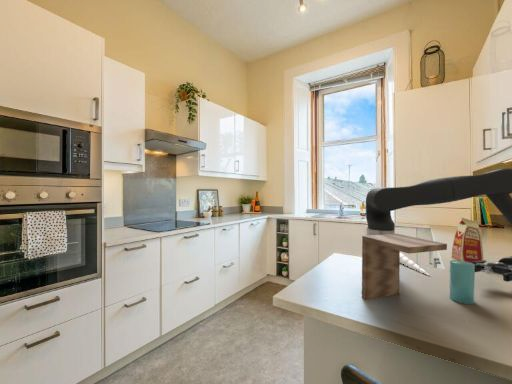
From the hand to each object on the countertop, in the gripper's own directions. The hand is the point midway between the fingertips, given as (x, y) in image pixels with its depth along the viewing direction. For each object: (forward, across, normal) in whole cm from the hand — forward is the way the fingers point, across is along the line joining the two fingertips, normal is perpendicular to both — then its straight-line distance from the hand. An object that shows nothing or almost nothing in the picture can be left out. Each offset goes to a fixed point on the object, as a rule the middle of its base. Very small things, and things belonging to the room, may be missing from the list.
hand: (487, 273), depth 77 cm
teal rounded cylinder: (+12, 0, +7) cm, 13 cm away
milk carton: (-34, -26, +7) cm, 44 cm away
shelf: (+32, -3, +6) cm, 33 cm away
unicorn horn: (-4, -30, +7) cm, 31 cm away
